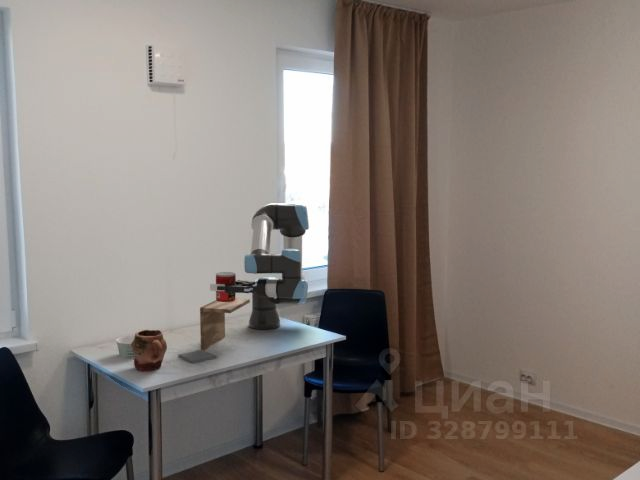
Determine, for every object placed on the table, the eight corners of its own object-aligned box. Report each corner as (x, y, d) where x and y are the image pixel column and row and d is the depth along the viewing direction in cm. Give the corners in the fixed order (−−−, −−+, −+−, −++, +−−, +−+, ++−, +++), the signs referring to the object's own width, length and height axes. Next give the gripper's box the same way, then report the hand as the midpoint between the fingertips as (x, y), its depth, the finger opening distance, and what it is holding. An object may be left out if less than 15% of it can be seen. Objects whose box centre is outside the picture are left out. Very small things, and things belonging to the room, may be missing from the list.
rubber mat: (201, 351, 265) (201, 349, 264) (216, 357, 256) (216, 355, 256) (178, 357, 257) (178, 354, 257) (192, 363, 249) (192, 360, 249)
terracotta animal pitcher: (179, 371, 240) (178, 334, 238) (149, 378, 231) (148, 340, 229) (150, 359, 254) (150, 325, 252) (122, 366, 245) (121, 330, 243)
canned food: (232, 302, 255) (232, 275, 253) (213, 301, 256) (213, 274, 255) (238, 299, 262) (238, 272, 261) (219, 297, 263) (219, 271, 262)
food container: (122, 361, 252) (121, 344, 251) (112, 354, 262) (111, 338, 261) (151, 355, 259) (150, 340, 258) (140, 349, 269) (140, 334, 268)
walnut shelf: (200, 350, 267) (200, 307, 265) (221, 336, 289) (221, 297, 287) (230, 352, 264) (230, 309, 262) (250, 338, 285) (249, 299, 283)
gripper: (259, 302, 245) (204, 299, 250) (275, 292, 264) (224, 290, 270) (259, 282, 244) (204, 280, 249) (275, 274, 264) (223, 272, 269)
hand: (214, 285), depth 259 cm, fingers closed on canned food, 8 cm apart
